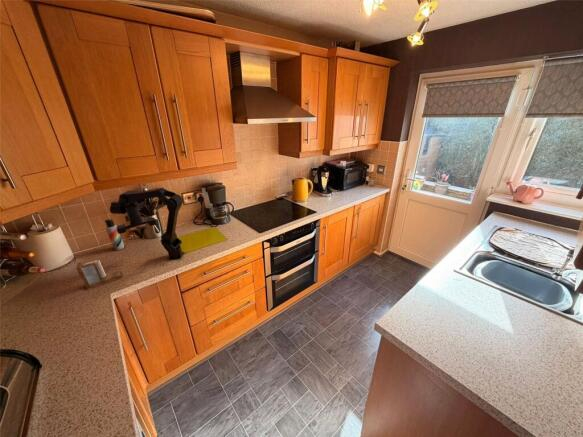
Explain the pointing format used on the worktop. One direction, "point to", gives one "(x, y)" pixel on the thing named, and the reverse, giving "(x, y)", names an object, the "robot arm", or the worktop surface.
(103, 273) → the frame
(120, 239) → the lotion bottle
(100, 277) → the window frame
